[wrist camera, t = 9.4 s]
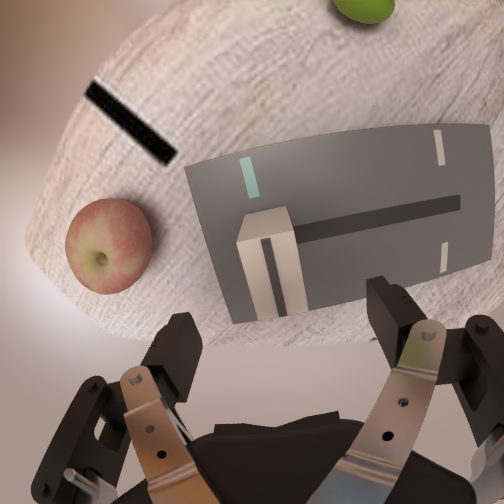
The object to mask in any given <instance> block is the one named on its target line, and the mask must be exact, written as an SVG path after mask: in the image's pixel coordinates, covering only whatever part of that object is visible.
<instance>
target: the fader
mask: <svg viewBox="0 0 504 504" xmlns="http://www.w3.org/2000/svg"><path fill="white" fill-rule="evenodd" d="M236 244H237V247H238V251H239V254H240V258H241V261H242V265H243V269H244V272H245V276H246V279H247V283H248V286H249V290H250V293H251V297H252V300H253V304H254V307H255V311H256V314H257V318H258V321H260V320H265V319H271V318H277V317H283V316H287V315H293V314H298V313H303V312H308V305H307V299H306V293H305V287H304V282H303V276H302V271H301V265H300V260H299V255H298V249H297V244H296V239H295V234H294V230H293V226H292V223H291V220H290V217H289V214H288V211H287V208H286V206H282V207H277V208H273V209H268V210H264V211H259V212H255V213H250V214H246V215H245V216H244V219H243V223H242V226H241V229H240V232H239V235H238V238H237V242H236Z"/></svg>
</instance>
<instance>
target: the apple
mask: <svg viewBox="0 0 504 504" xmlns="http://www.w3.org/2000/svg"><path fill="white" fill-rule="evenodd" d="M65 250H66V256H67V259H68V263H69V265H70V267H71V269H72V271H73V273H74V275H75V277H76V278H77V279H78V280H79V282H80V283H81V284H82V285H84V286H85V287H86V288H88V289H90V290H92V291H94V292H97V293H100V294H105V295H106V294H115V293H119V292H121V291H123V290H125V289H127V288H129V287H130V286H132V285H133V284H134V283H135V282H136V281H137V280H138V279H139V278H140V277H141V276H142V274H143V272H144V271H145V269H146V267H147V266H148V263H149V261H150V257H151V250H152V238H151V231H150V227H149V224H148V221H147V219H146V217H145V215H144V214H143V212H142V211H141V210H140V209H139V208H138V207H137V206H135V205H134V204H132V203H130V202H128V201H125V200H122V199H101V200H97V201H95V202H92V203H90V204H89V205H87V206H85V207H84V208H83V209H82V210H80V211H79V212H78V213H77V215H76V216H75V217H74V219H73V220H72V222H71V225H70V227H69V230H68V233H67V236H66V242H65Z"/></svg>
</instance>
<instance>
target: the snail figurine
mask: <svg viewBox="0 0 504 504" xmlns="http://www.w3.org/2000/svg"><path fill="white" fill-rule="evenodd" d="M333 2H334V4H335V6H336V7H337V8H338V10H339V11H340V12H341V13H342V14H344V15H345V16H346V17H348V18H350V19H352V20H354V21H357V22H360V23H365V24H375V23H379V22H382V21H384V20H386V19H387V18H389V17H390V15H391V14H392V13H393V10H394V7H395V0H333Z"/></svg>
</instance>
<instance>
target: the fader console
mask: <svg viewBox="0 0 504 504" xmlns="http://www.w3.org/2000/svg"><path fill="white" fill-rule="evenodd" d="M184 169H185V172H186V176H187V179H188V183H189V186H190V190H191V193H192V197H193V200H194V204H195V207H196V211H197V214H198V217H199V221H200V224H201V227H202V231H203V234H204V237H205V240H206V244H207V247H208V250H209V253H210V256H211V259H212V263H213V266H214V269H215V272H216V275H217V278H218V281H219V284H220V287H221V290H222V293H223V296H224V299H225V302H226V305H227V308H228V311H229V314H230V317H231V319H232V322H233V324H238V323H244V322H250V321H256V320H258V318H257V314H256V311H255V307H254V304H253V300H252V297H251V293H250V290H249V286H248V283H247V279H246V276H245V272H244V269H243V265H242V261H241V258H240V254H239V251H238V247H237V244H236V242H237V238H238V235H239V232H240V229H241V226H242V223H243V219H244V216H245V215H246V214H250V213H255V212H259V211H264V210H268V209H273V208H277V207H282V206H286V208H287V211H288V214H289V217H290V220H291V223H292V226H293V230H294V234H295V239H296V244H297V249H298V255H299V260H300V265H301V271H302V276H303V282H304V287H305V293H306V299H307V305H308V311H310V310H315V309H320V308H324V307H329V306H333V305H338V304H342V303H346V302H351V301H355V300H359V299H363V298H366V280H367V279H369V278H373V277H377V276H381V275H383V276H384V277H385V279H386V280H387V281H388V283H389V284H390V285H392V284H397V285H399V286H401V287H403V288H405V287H408V286H412V285H415V284H419V283H422V282H425V281H429V280H432V279H435V278H438V277H442V276H445V275H448V274H451V273H454V272H457V271H460V270H463V269H466V268H469V267H472V266H474V265H477V264H480V263H483V262H486V261H488V260H491V255H492V246H493V234H494V217H495V181H494V164H493V152H492V143H491V136H490V129H489V125H483V124H424V125H405V126H391V127H380V128H370V129H361V130H353V131H345V132H338V133H331V134H325V135H319V136H313V137H307V138H302V139H296V140H291V141H286V142H281V143H276V144H271V145H267V146H262V147H258V148H254V149H249V150H245V151H241V152H237V153H233V154H229V155H225V156H222V157H218V158H214V159H211V160H207V161H204V162H200V163H197V164H193V165H190V166H187V167H184Z"/></svg>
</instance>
